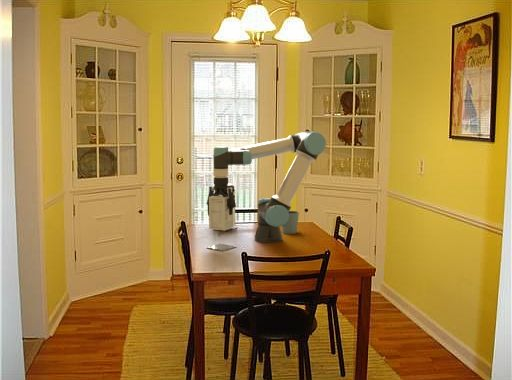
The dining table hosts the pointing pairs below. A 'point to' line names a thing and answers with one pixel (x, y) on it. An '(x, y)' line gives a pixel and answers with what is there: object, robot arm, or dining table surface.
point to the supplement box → (219, 213)
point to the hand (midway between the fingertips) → (221, 219)
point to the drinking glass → (291, 223)
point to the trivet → (221, 247)
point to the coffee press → (233, 208)
